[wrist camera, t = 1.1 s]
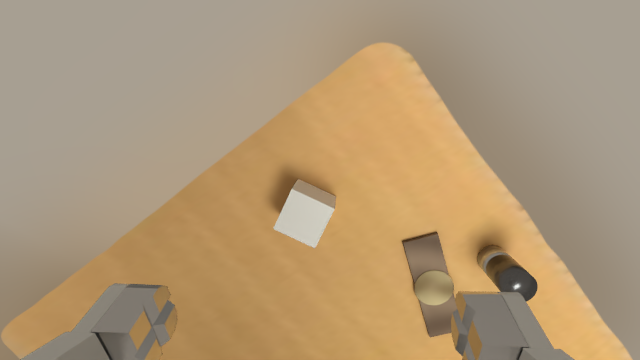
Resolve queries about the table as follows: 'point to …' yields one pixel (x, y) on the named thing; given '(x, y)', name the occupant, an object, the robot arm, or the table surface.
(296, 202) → the white cube
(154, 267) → the table surface
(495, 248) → the bottle with black cap
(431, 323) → the strip
